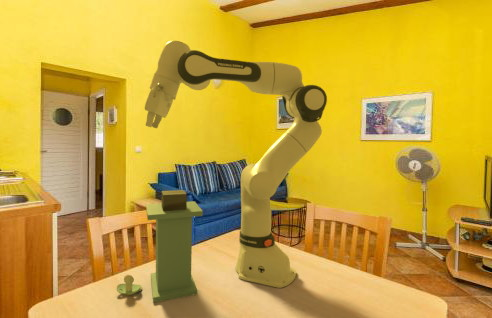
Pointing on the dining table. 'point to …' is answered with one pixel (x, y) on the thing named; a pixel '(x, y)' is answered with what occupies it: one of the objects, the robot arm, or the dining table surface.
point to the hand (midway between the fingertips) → (151, 127)
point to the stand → (173, 251)
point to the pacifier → (128, 286)
